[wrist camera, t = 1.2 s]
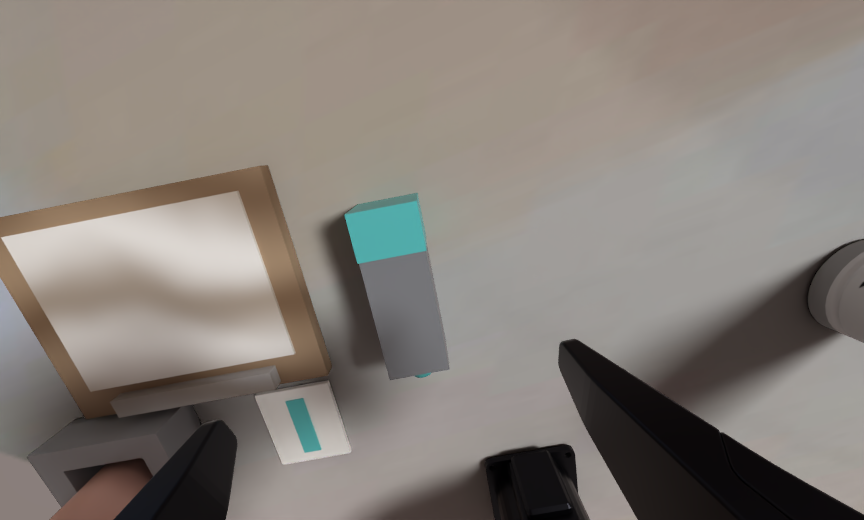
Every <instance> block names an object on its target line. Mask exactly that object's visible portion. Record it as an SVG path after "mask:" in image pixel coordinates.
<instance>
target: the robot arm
mask: <svg viewBox="0 0 864 520" xmlns="http://www.w3.org/2000/svg"><path fill="white" fill-rule="evenodd" d="M558 364H559V368H560V371H561V374H562V376H563V378H564V380H565V383H566V385H567V387H568V390H569V392H570V394H571V396H572V399H573V401H574V403H575V405H576V408H577V410H578V412H579V415H580V417H581V419H582V421H583V423H584V425H585V427H586V429H587V431H588V433H589V435H590V436H591V438H592V440H593V442H594V443H595V445H596V447H597V449H598V450H599V452H600V454H601V456H602V457H603V459H604V461H605V463H606V465H607V466H608V468H609V470H610V472H611V473H612V475H613V477H614V479H615V480H616V482H617V484H618V486H619V487H620V489H621V491H622V493H623V494H624V496H625V498H626V500H627V501H628V503H629V505H630V507H631V508H632V510H633V512H634V514H635V516H636V517H637V519H638V520H864V515H863V514H862V513H860V512H858V511H856V510H854V509H853V508H851V507H849V506H847V505H845V504H844V503H842V502H840V501H838V500H836V499H835V498H833V497H831V496H829V495H827V494H826V493H824V492H822V491H820V490H818V489H817V488H815V487H813V486H811V485H809V484H808V483H806V482H804V481H802V480H801V479H799V478H797V477H795V476H794V475H792V474H790V473H788V472H787V471H785V470H783V469H781V468H780V467H778V466H776V465H774V464H773V463H771V462H770V461H768V460H766V459H765V458H763V457H761V456H760V455H758V454H757V453H755V452H753V451H752V450H750V449H748V448H747V447H745V446H743V445H742V444H740V443H739V442H737V441H736V440H734V439H732V438H731V437H729V436H728V435H726V434H725V433H723V432H721V433H720V432H719V430H718V429H717V428H715V427H713V426H712V425H710V424H709V423H707V422H706V421H704V420H702V419H701V418H699V417H698V416H696V415H695V414H693V413H691V412H690V411H688V410H687V409H685V408H684V407H682V406H681V405H679V404H677V403H676V402H674V401H673V400H671V399H670V398H668V397H666V396H665V395H663V394H662V393H660V392H659V391H657V390H655V389H654V388H652V387H651V386H649V385H648V384H646V383H644V382H643V381H641V380H640V379H638V378H637V377H635V376H634V375H632V374H630V373H629V372H627V371H626V370H624V369H623V368H621V367H619V366H618V365H616V364H615V363H613V362H612V361H610V360H608V359H607V358H605V357H604V356H602V355H601V354H599V353H597V352H596V351H594V350H593V349H591V348H590V347H588V346H587V345H585V344H583V343H582V342H580V341H579V340H576V339H570V340H566V341H562V342H561V343H560V345H559V359H558ZM236 451H237V439H236V436H235V435H234V433H233V432H232V431H231V430H230V429H229V427H228V426H227V425H226V424H225V422H224V421H222V420H214V421H209V422H206V423H203V424H202V425H201V426H200V427H199V428H198V429H197V430H196V431H195V432H194V433H193V434H192V435H191V436H190V437H189V438H188V440H187V441H186V442H185V443H184V444H183V445H182V446H181V447H180V448H179V449H178V450H177V451H176V452H175V454H174V455H173V456H172V457H171V458H170V459H169V460H168V461H167V462H166V463H165V464H164V465H163V466H162V468H161V469H160V470H159V471H158V472H157V473H156V474H155V475H154V476H153V477H152V478H151V479H150V481H149V482H148V483H147V484H146V485H145V486H144V487H143V488H142V489H141V490H140V491H139V492H138V493H137V495H136V496H135V497H134V498H133V499H132V500H131V501H130V502H129V503H128V504H127V505H126V506H125V508H124V509H123V510H122V511H121V512H120V513H119V514H118V515H117V516H116V517H115V518H114V519H113V520H225V519H226V515H227V511H228V505H229V499H230V492H231V485H232V479H233V472H234V465H235V458H236ZM567 452H568V453H567ZM492 465H493V466H492ZM485 468H486V473H487V479H488V484H489V490H490V495H491V501H492V506H493V511H494V517H495V520H590V519H589V517H588V514H587V512H586V510H585V508H584V506H583V504H582V501H581V499H580V497H579V495H578V487H577V474H576V461H575V453H574V451H573V449H572V447H571V446H569V445H563V446H558V447H552V448H546V449H540V450H534V451H529V452H523V453H517V454H511V455H505V456H500V457H494V458H489V459H487V460H486V462H485Z"/></svg>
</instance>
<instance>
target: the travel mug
mask: <svg viewBox="0 0 864 520" xmlns="http://www.w3.org/2000/svg"><path fill="white" fill-rule="evenodd" d="M808 306H809V309H810V312H811V314H812V315H813V317H814V318H815V320H816V321H817V322H819V323H820V324H821V325H823V326H825V327H828V328H830V329H832V330H835V331H837V332H839V333H842V334H844V335H846V336H849V337H852V338H854V339H856V340H858V341H861V342H863V343H864V240H861V241H858V242H855V243H852V244H850V245H848V246H846V247H844V248H842V249H841V250H839V251H838V252H836V253H835V254H834V255H832V256H831V257H830V258H829V259H828V260H827V261H826V262H825V263H824V264H823V265H822V266H821V268H820V269H819V270H818V272H817V273H816V275H815V277H814V278H813V280H812V283H811V286H810V289H809V294H808Z"/></svg>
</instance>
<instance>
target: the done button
mask: <svg viewBox="0 0 864 520" xmlns="http://www.w3.org/2000/svg"><path fill="white" fill-rule="evenodd" d="M152 477H153V475H152V474H151V472H150V470H149V468H148V466H147V465H146V463H145V461H144V459H141V458H137V459H131V460H126V461H120V462H115V463H109V464H106V465H105V466H104V467H103V468H102V469H101V470H99V471H98V472H97V473H96V474H95V475H94V476H93V477H92V478H91V479H90V480H89V481H88V482H87V483H86V484H85V485H84V486H83V487H82V488H81V489H80V490H79V491H78V492H77V493H76V494H75V495H74V496H73V497H72V498H71V499H70V500H69V501H68V502H67V503H66V504H65V505H64V506H63V507H62V508H61V509H60V510H59V511H58V512H57V513H56V514H55V515H54V516H53V517H52V518H51V519H50V520H113V519H114V518H115V517H116V516H117V515H118V514H119V513H120V512H121V511H122V510H123V509H124V508H125V506H126V505H127V504H128V503H129V502H130V501H131V500H132V499H133V498H134V497H135V496H136V495H137V493H138V492H139V491H140V490H141V489H142V488H143V487H144V486H145V485H146V484H147V483H148V482H149V481H150V479H151V478H152Z"/></svg>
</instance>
